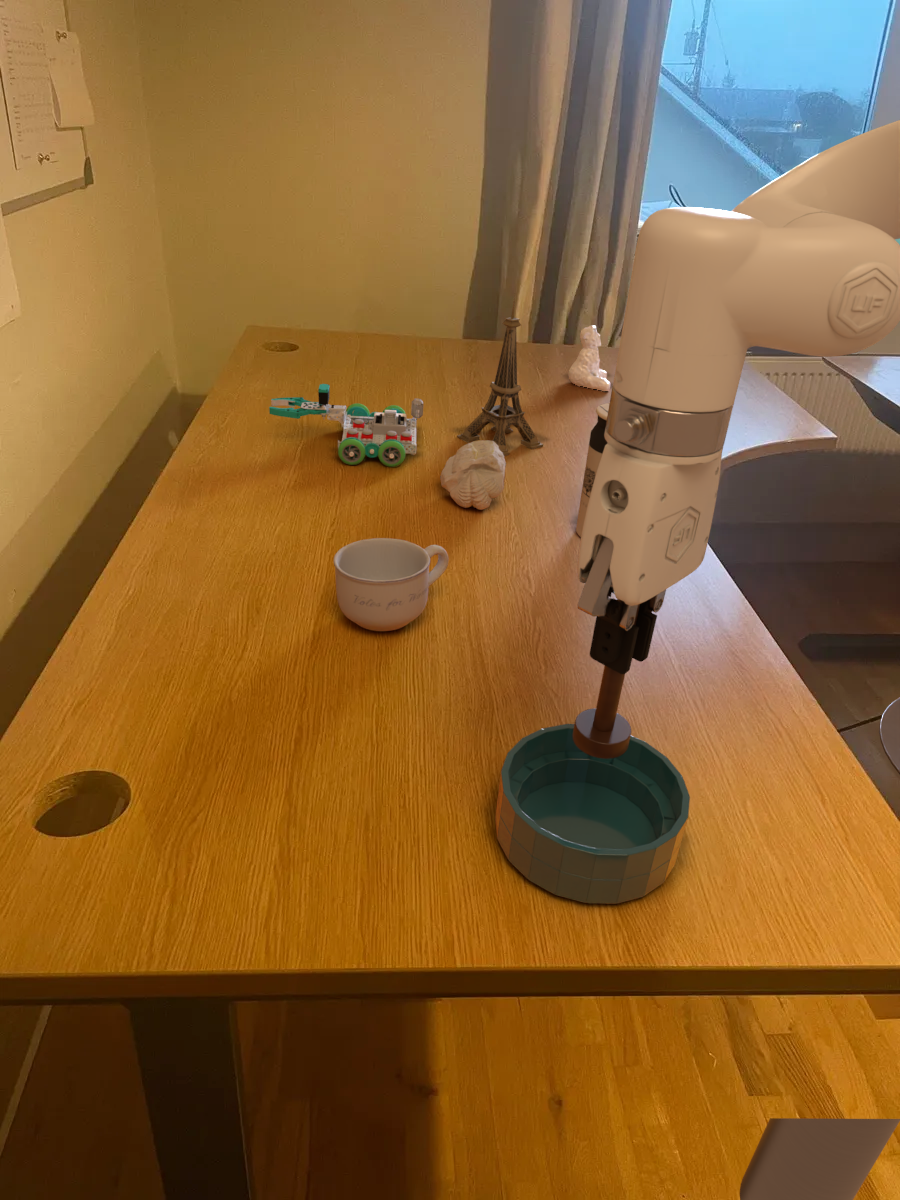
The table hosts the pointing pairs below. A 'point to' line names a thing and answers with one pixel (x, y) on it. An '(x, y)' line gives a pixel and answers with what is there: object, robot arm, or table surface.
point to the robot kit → (361, 427)
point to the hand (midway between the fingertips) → (618, 657)
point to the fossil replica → (475, 474)
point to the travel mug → (592, 462)
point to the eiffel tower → (504, 398)
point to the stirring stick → (604, 720)
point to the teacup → (385, 581)
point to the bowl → (590, 817)
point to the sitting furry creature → (589, 362)
